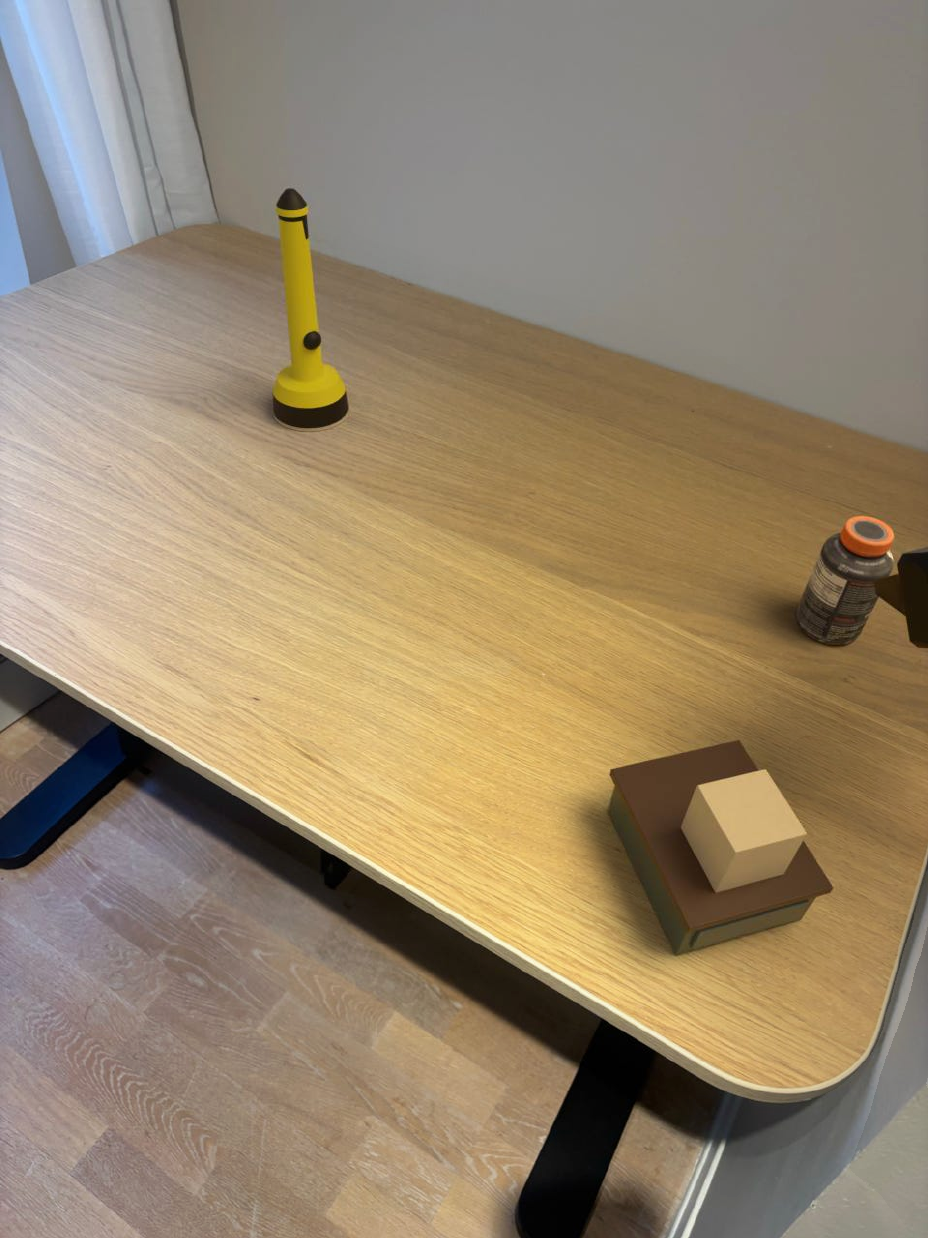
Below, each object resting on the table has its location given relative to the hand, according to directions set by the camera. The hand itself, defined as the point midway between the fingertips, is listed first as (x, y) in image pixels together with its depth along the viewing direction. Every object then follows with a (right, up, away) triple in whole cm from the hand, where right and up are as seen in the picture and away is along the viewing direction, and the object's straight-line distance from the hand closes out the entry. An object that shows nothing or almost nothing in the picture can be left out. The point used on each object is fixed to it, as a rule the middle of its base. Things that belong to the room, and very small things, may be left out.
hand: (925, 573), depth 65 cm
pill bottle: (-1, -4, +16) cm, 17 cm away
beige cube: (-17, -19, -7) cm, 26 cm away
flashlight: (-53, +21, +39) cm, 69 cm away
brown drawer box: (-17, -21, -2) cm, 27 cm away
